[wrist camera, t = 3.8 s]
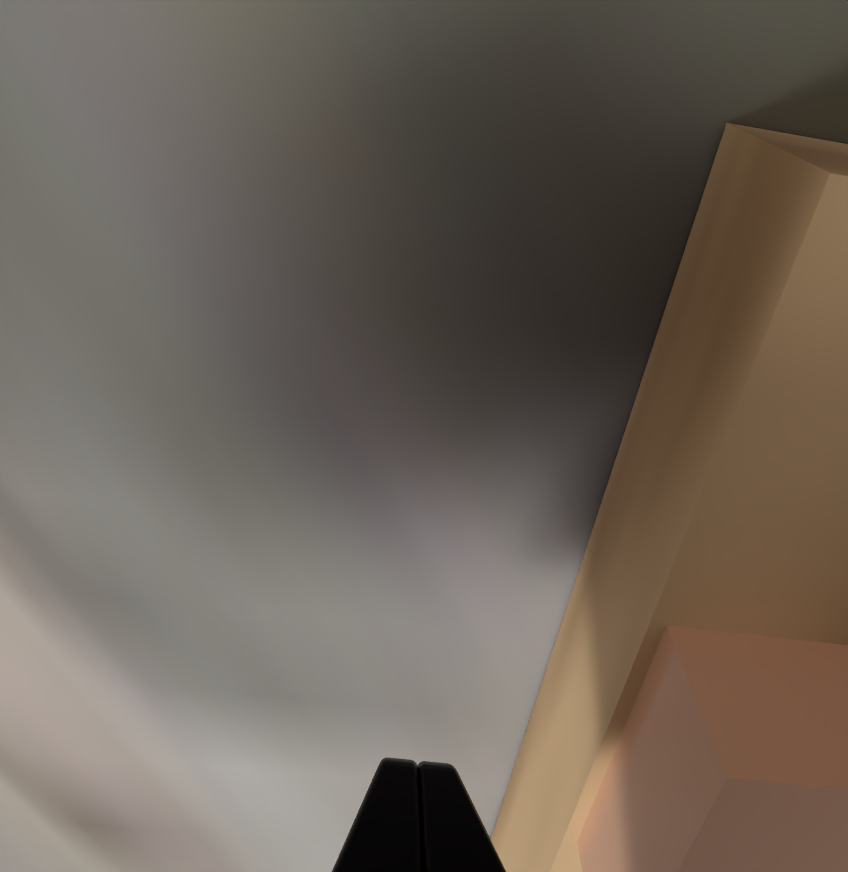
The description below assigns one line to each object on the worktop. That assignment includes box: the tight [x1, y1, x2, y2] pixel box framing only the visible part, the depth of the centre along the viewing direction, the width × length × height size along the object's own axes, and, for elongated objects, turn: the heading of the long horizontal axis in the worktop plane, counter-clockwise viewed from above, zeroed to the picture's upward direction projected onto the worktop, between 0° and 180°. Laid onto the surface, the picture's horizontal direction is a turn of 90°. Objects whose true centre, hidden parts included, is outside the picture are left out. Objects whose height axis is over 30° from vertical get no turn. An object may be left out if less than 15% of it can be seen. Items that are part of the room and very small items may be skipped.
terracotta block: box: [577, 625, 848, 872], centre depth 10 cm, size 4×4×2 cm
